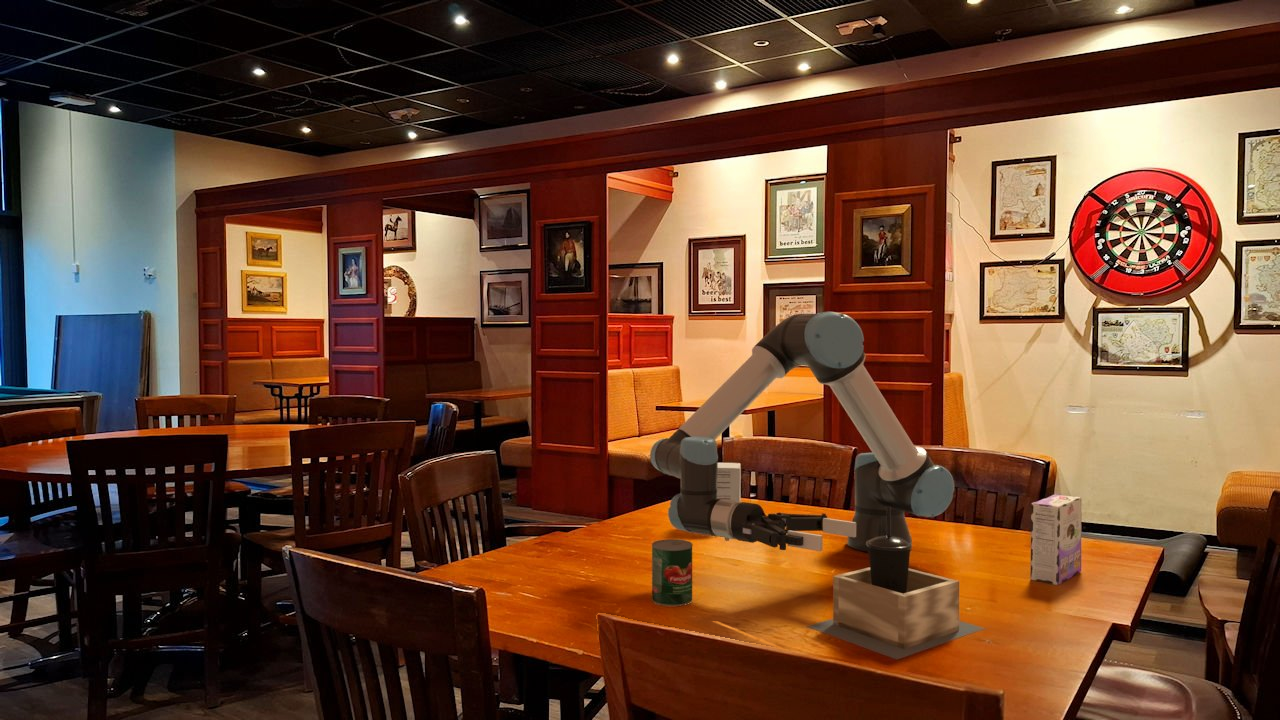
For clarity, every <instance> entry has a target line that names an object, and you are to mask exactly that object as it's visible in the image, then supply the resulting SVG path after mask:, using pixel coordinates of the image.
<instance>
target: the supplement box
mask: <svg viewBox="0 0 1280 720" xmlns="http://www.w3.org/2000/svg"><path fill="white" fill-rule="evenodd" d="M741 467H742V466H741V463H740V462H718V468H717V498H718V499H726V500H734V501H740V502H742V500H741V499H742V498H741V497H742V496H741V494H742V493H741V491H742V490H741V488H742V487H741V480H742V472H741V471H742V468H741Z"/></svg>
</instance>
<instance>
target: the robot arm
mask: <svg viewBox="0 0 1280 720" xmlns="http://www.w3.org/2000/svg"><path fill="white" fill-rule="evenodd" d="M863 342H865V338H864V333H863V330H862V328H861V326H860V325H859V324H858V323H857V321H855V319H854V318H852V317H851V316H849V315H847V314H844V313H842V312H841V313H840V312H835V311H824V312H823V311H822V312H818V313H798V314H797V313H796V314H793V315H791V316H788V317H787V318H785V319H783V320H782V321H781V322H779V323H778V324H776V326H774V327H773V328H772V329H771V330H769V331H768V332H767V334H765V335H764V336H763V337H762V338H761V339H760V340H759V341H758V342H757V343H756V344H755V345H754V346H753V347H752V349H751V355H750V357H749V358H747V360H746V361H745V362H743V363H742V364H741V366H739V368H738V369H737V370H736V371H734V373H732V374H731V376H730V377H729V378H727V380H726V381H724V383H723V384H721V386H720V387H718V388H717V390H715V392H714V393H712V395H710V396H709V397H708V399H707V400H705V402H703V404H702V405H700V407H699V408H698V409H697V410H696V411H694V413H692V415H691V416H690V417H689V418H688V419H687V420H686V421H684V423H683V424H682V425H680V427H679V428H678V429H676V430H675V432H673V434H671V436H669V438H667V437H666V438H661V439H659V440H657V441H656V442H655V443H654V444H653V445H652V447H651V449H650V454H649V458H650V462H651V465H652V466H653V467H654V468H655V469H656V470H657V471H659V472H661V473H662V474H663V475H666V476H672V477H675V478H677V479H680V493H677V494H675V495H674V496H673V497H672V498H671V500H670V504H669V505H670V506H669V507H668V510H667V511H668V512H667V513H668V515H667V516H668V521H669V523H670V524H671V525H672V527H674V528H675V529H676V530H681V531H684V532H688V533H690V534H700V535H706V536H713V537H719V538H724V541H726V542H729V541H730V540H737V541H739V542H745V543H750V544H751V543H753V544H754V543H757V542H759V543H761V544H764V545H766V546H769V547H771V548H774V549H775V548H778V547H779V550H780V551H787V547H791V548H796V549H797V548H798V549H804V550H809V551H816V552H823V550H824V549H823V547H824V546H823V543H824V542H823V535H822V534H818V533H817V534H815V533H811V532H822V533H823V534H829V535H837V536H843V537H847V546H848V547H849V548H851V549H855V550H857V551H861V552H867V553H869V552H868V546H867V545H866V542H867V541H868V540H871V539H873V538H875V537H878V536H884V535H887V506H890V507H891V536H896V537H899V538H902V539H904V540H905V541H908V542H910V543H911V544H912V545H913V539H912V536H911V534H910V531H909V529H910V528H909V527H908V524H907V521H906V517H905V512H906V513H909V514H912V515H916V516H917V517H925V518H926V517H927V518H934V517H936V516H939V515H941V514H943V513H944V512H945V511H946V510H947V509H948V508H949V506H950V504H951V502H952V500H953V498H954V492H955V480H954V478H953V475H952V474H951V472H950V471H949V469H947V468H946V467H944V466H943V465H938V464H934V462H933V460H932V459H931V458H930V456H929V454H928V452H927V451H926V450H925V449H924V447H922V446H918V445H915V444H914V443H913V442H912V440H911V439H910V437H909V435H908V433H907V432H906V431H905V429H904V427H903V425H902V423H900V421H899V420H898V418H897V417H896V414H895V413H894V412H893V409H892V408H891V407H890V405H889V403H888V402H887V400H886V399H885V397H884V396H883V394H882V393H881V391H880V389H879V388H878V386H877V384H876V383H875V381H874V380H873V378H872V377H871V375H870V373H869V372H868V370H867V368H866V367H865V365H864V363H865V361H866V353H865V352H864V347H865V346H864V345H863ZM802 366H804V367H808V368H809V370H810V371H811V373H812V374H813V376H814V377H815V379H816V380H817V382H818V383H819V384H821V385H827V386H829V387H830V389H831V390H832V392H833V394H834V395H835V397H836V398H837V400H838V402H839V403H840V405H841V406H842V408H843V409H844V410H845V412H846V414H847V416H848V417H849V418H850V420H851V421H852V423H853V424H854V426H855V428H856V430H857V431H858V432H859V434H860V436H861V437H862V438H863V441H864V442H865V443H866V445H867V446H868V448H869V449H870V451H871V452H861V453H859V454H857V455H856V457H855V461H854V468H853V472H854V515H853V518H852V521H850V520H841V519H836V518H835V519H834V518H829V517H828V515H827V514H826V513H823V512H822V513H821V514H805V513H804V514H803V513H801V514H800V513H787V512H786V513H785V512H776V513H767V514H766V513H765V511H764V509H763V507H762V506H761V505H760V504H758V503H754V502H746V501H743V502H742V501H741V502H740V501H734V500H726V499H718V498H717V468H718V463H719V461H718V460H719V454H718V446H717V441H716V440H717V439H718V438H719V436H721V434H723V433H724V432H725V430H726V429H728V428H729V426H731V425H732V423H733V422H734V421H735V420H736V419H737V418H738V417H739V416H741V414H742V413H743V412H744V411H745V410H747V408H748V407H749V406H750V405H751V404H752V403H753V402H754V401H755V400H756V399H757V398H758V397H760V396H761V394H762V393H764V391H765V390H766V389H767V388H768V387H769V386H770V385H771V384H772V383H773V382H774V381H775V379H783V378H784V377H786V375H787V374H788V373H789V372H791V371H793V370H794V369H796V368H798V367H802ZM809 532H810V533H809ZM912 549H913V547H912V548H911V549H910V551H911V550H912Z"/></svg>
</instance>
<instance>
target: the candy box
mask: <svg viewBox="0 0 1280 720" xmlns="http://www.w3.org/2000/svg"><path fill="white" fill-rule="evenodd" d="M1030 504H1031V505H1030V509H1031V511H1030V580H1031V581H1035V582H1040V583H1045V584H1050V585H1054V586H1059V585H1061V584H1062V583H1064V582H1066V581H1068V580H1069V579H1071V578H1073V577H1075V576H1076V575H1077V574H1080V573H1082V497H1081V496H1072V495H1063V494H1052V495H1050V496H1048V497H1045V498H1042V499H1040V500H1037V501H1034V502H1031V503H1030Z"/></svg>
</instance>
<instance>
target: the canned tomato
mask: <svg viewBox="0 0 1280 720" xmlns="http://www.w3.org/2000/svg"><path fill="white" fill-rule="evenodd" d="M651 564H652V565H651V567H652V569H651V596H652V597H651V602H652V601H653V602H654V604H655V603H656V604H655V605H657V604H659V605H658V606H660V605H664V606H663V607H666V606H679V607H681V606H680V605H685V604H688V603H690V602H691V603H692V602H693V601H692V600H693V543H692V542H691V541H689V540H684V539H676V538H675V539H674V538H672V539H667V538H666V539H659V540H656V541H654V542H652V544H651ZM653 602H652V603H653ZM691 603H690V604H691ZM688 605H689V604H688ZM685 606H686V605H685Z"/></svg>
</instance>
